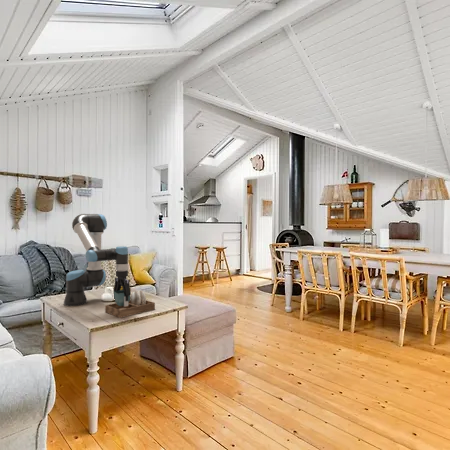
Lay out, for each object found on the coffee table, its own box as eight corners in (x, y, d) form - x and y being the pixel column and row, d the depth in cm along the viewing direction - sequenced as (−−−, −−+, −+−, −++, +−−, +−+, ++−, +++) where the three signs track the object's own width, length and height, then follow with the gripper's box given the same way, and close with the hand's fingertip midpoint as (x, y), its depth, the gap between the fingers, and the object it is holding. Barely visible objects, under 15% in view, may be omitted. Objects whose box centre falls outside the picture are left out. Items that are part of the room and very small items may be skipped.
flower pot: (117, 307, 206) (117, 293, 206) (113, 304, 213) (113, 291, 213) (131, 305, 211) (131, 291, 211) (126, 302, 218) (126, 289, 218)
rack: (105, 312, 213) (105, 293, 213) (139, 304, 233) (139, 287, 233) (120, 317, 201) (120, 298, 201) (154, 309, 221) (154, 291, 221)
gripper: (108, 269, 216) (108, 303, 216) (125, 272, 202) (126, 308, 202) (118, 268, 222) (118, 301, 222) (136, 271, 208) (136, 306, 208)
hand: (122, 304), depth 212 cm, fingers closed on flower pot, 9 cm apart
